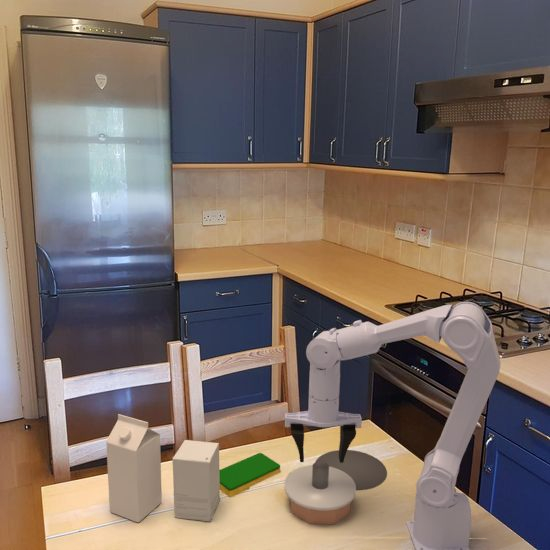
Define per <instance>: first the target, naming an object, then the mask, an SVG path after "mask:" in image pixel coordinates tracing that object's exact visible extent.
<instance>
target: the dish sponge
mask: <svg viewBox="0 0 550 550" xmlns="http://www.w3.org/2000/svg"><path fill="white" fill-rule="evenodd" d="M279 473H281V464H280V463H278V462H277V461H275V460H273V459H271V458H270V457H269V456H267V455H265V454H264V453H262V452H258V453H256V454H254V455H251V456H248V457H247V458H244V459H242V460H240V461H237V462H235V463H232V464H230V465H228V466H226V467H223V468H221V469H219V478H220V492H222V493H223V494H225V495H226V497H228V498H232V497H235V496H237V495H239V494H241V493H242V492H245V491H247V490H249V489H251V487H252V486H254V485H257V484H258V483H261V482H262V481H264V480H267V479H270V478H271V477H274V476H275V475H277V474H279Z"/></svg>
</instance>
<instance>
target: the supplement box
mask: <svg viewBox="0 0 550 550" xmlns="http://www.w3.org/2000/svg"><path fill="white" fill-rule="evenodd" d="M171 459H172V475H173V478H172V479H173V480H172V481H173V505H174V506H173V507H174V511H173V512H174V518H175V519H176V518H178V519H187V520H192V521H193V520H195V521H203V522H211V520H212V518H213V516H214V513H215V511H216V510H217V507H218V504H219V502H220V500H221V496H220V495H221V493H220V492H221V490H220V478H219V470H220V443H219V442H212V441H211V442H210V441H201V440H191V439H184V440H183V442H182V444H181V445H180V447H179V449H177V451H176V452H175V454H174V456H173V457H172V458H171Z"/></svg>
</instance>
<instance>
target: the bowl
mask: <svg viewBox="0 0 550 550" xmlns="http://www.w3.org/2000/svg"><path fill="white" fill-rule="evenodd" d="M289 501H290V513H291V514H293V515H295V516H297V518H299V519H301V520H303V521H304V522H306V523H308V524H310V525H311V524H313V525H335V524H336V523H339V521H341V520H342V519H344V518H345V517H347V516H348V515H349V514H350V513H351V502H350V503H349V504H348V505H346V506H344V507H342V508H339V509H335V510H328V511H321V510H312V509H308V508H305V507H302V506H300V505H298V504H296V503H295V502H293V501H292V500H291V499H290V498H289Z"/></svg>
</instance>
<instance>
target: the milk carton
mask: <svg viewBox="0 0 550 550" xmlns="http://www.w3.org/2000/svg"><path fill="white" fill-rule="evenodd" d="M105 443H106V462H107V463H106V464H107V481H108V482H107V483H108V484H107V485H108V499H109V500H108V501H109V512H110V513H112V514H114V515H117V516H120V517H122V518H124V519H128V520H131V521H133V522H136V523H140V522H141V521H142V520H144V519H145V518H146V516H148V515H149V514H150V513H151V512H153V511H154V510H155V509H156V508H157V507H158V506H159V505H161V503H162V502H163V501H162V495H163V493H162V467H161V466H162V464H161V463H162V462H161V461H162V460H161V434H160V433H159V432H157V431H155V430H153V429H151V428H150V427H149V422H148V421H144V420H140V419H137V418H134V417H130V416H127V415H123V414H120V413H118V414H117V421H116V423H115V425H114V426H113V427H112V430H111V431H110V434H109V436H108V437H107V439H106V442H105Z"/></svg>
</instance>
